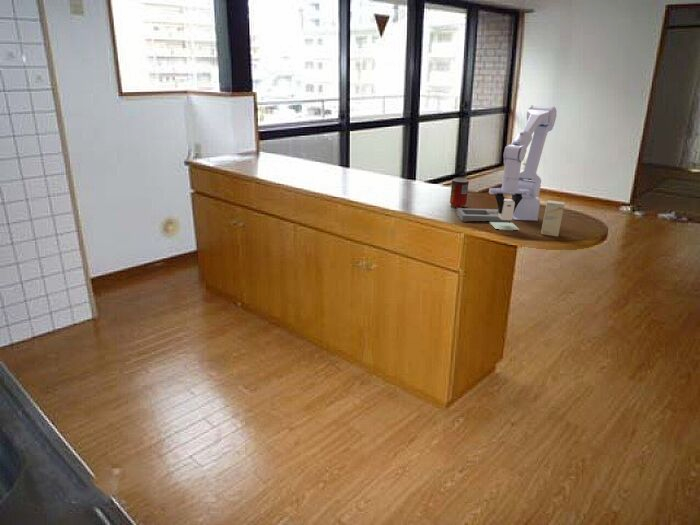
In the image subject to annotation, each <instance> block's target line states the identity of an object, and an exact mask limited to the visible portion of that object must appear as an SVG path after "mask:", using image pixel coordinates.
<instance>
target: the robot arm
mask: <svg viewBox="0 0 700 525" xmlns="http://www.w3.org/2000/svg"><path fill="white" fill-rule="evenodd" d="M557 112H558V111H557V108H556V107H555V106H542V105H539V106H538V105H530V106H529V107H528V108H527V112H526V123H525V125H524V127H523V129H522V130H519V131H518V132H517V134H516V135H515V137H514V138H513V140H512V141H511V143H510V144H508V145H506V146H505V147H504V151H503V154H502V155H503V165H504V168H503V174H502V175H503V176H502V180H501V181H502V183H501V187H494V188H493V187H492V188H491V187H490V188H489V190H488V194H489V195H494V196H495V199H496V203H497V209H498V212H499V213H500V214H501V213H502V207H503V202H504V199H506V197H505V196H504V195H509V196H510V195H511V199H512V200H513V201H514V202H515V205H514V212H513V219H512V220H515V221H538V220H539V219H538V218H539V212H540V207H541V206H540V202H541V201H540V198H539V195H540V192H541V185H542V178H541V177H540V176H539V175H538V174H537V171H538V167H539V164H540V161H541V157H542V154H543V149H544V147H545V142H546V140H547V136H548V133H549V132H551V131H552V130H553V129H554V127H555V124H556V118H557ZM530 143H531V144H530ZM529 145H530V147H529ZM528 147H529V150H527V149H528ZM527 151H528V153H527ZM526 153H527V154H528V155H527V157H526ZM525 157H526V161H525V164H524V169H523V171H521V169H522V168H521V167H522V162H523V161H524V160H525Z"/></svg>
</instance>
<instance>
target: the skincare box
mask: <svg viewBox="0 0 700 525" xmlns="http://www.w3.org/2000/svg"><path fill="white" fill-rule="evenodd" d="M565 205H566V202H565V201H557V200H550V199H549V200H548V199H547V200H546V204H545V209H544V214H543V220H542V225H541V231H540V233H541V235H545V236H552V237H559V234H560V229H561V225H562V224H561V223H562V220H563V219H562V218H563V216H564V210H565Z"/></svg>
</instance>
